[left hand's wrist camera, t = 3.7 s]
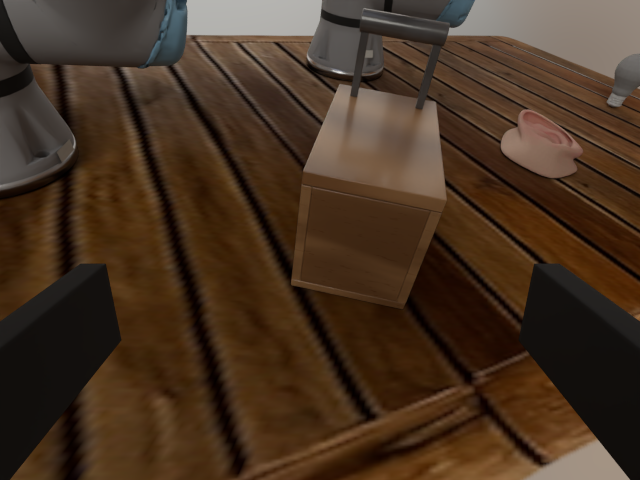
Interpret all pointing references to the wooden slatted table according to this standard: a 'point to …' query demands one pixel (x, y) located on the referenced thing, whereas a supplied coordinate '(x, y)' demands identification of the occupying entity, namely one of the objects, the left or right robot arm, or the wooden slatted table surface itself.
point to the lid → (384, 128)
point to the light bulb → (625, 79)
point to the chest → (360, 245)
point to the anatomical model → (541, 146)
